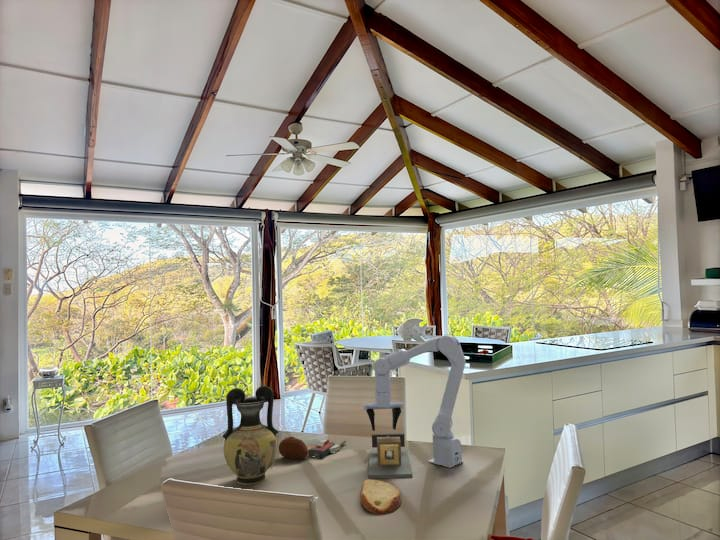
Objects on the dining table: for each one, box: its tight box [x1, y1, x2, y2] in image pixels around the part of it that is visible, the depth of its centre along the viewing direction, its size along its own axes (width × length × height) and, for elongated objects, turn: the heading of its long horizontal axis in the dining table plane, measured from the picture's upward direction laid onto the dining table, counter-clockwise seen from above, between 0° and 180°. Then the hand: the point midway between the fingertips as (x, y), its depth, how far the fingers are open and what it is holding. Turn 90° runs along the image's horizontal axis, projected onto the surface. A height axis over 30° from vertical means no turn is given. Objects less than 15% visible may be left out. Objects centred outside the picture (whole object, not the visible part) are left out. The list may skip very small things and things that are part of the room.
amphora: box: [222, 385, 279, 486], centre depth 157 cm, size 18×17×30 cm
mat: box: [368, 449, 413, 479], centre depth 166 cm, size 26×14×1 cm, turn 178°
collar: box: [380, 444, 399, 465], centre depth 160 cm, size 2×6×6 cm, turn 88°
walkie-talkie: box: [308, 439, 347, 458], centre depth 185 cm, size 9×4×20 cm
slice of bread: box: [360, 478, 402, 516], centre depth 137 cm, size 18×18×4 cm
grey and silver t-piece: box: [371, 432, 406, 459], centre depth 167 cm, size 22×12×4 cm, turn 178°
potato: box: [278, 436, 309, 460], centre depth 176 cm, size 8×12×8 cm, turn 78°
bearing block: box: [376, 437, 402, 466], centre depth 166 cm, size 6×8×8 cm
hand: (383, 429), depth 173 cm, fingers open, 7 cm apart
